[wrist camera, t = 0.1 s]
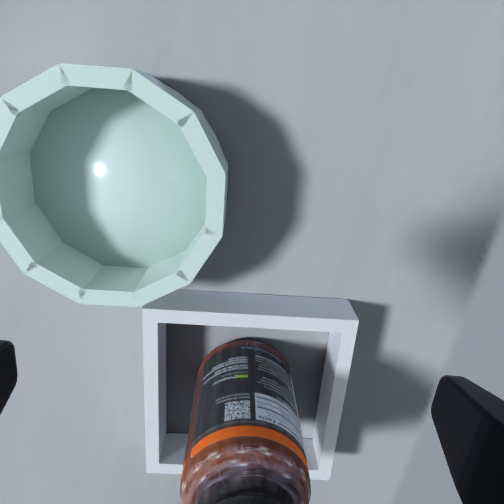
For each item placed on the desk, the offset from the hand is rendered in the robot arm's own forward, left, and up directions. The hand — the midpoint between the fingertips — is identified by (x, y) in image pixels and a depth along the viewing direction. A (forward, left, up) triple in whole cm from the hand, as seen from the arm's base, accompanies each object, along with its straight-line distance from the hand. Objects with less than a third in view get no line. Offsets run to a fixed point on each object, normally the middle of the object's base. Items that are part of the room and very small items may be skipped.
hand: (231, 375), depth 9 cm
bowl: (+1, +6, -14) cm, 16 cm away
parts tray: (-11, -1, -14) cm, 18 cm away
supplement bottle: (-11, -1, -15) cm, 18 cm away
